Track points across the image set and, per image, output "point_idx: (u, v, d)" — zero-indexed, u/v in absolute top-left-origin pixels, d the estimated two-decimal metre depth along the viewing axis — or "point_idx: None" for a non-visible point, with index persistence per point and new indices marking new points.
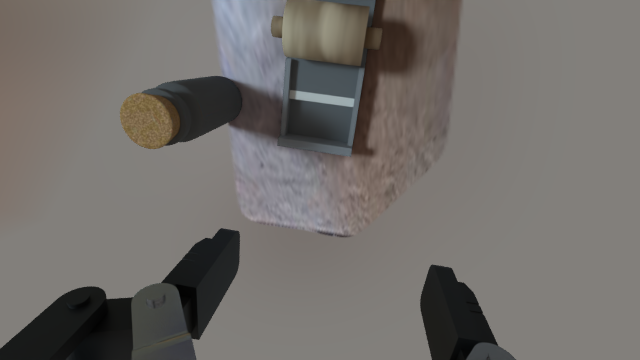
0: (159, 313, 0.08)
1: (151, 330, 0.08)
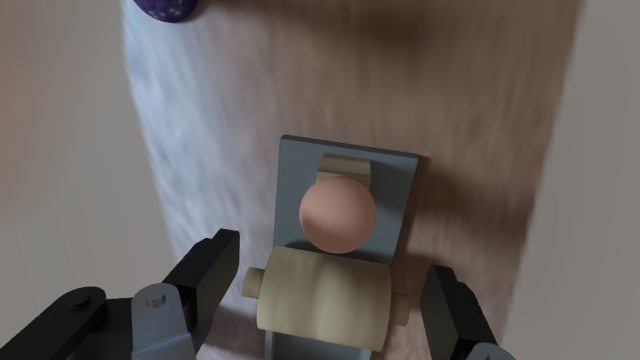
0: (158, 312, 0.08)
1: (151, 330, 0.08)
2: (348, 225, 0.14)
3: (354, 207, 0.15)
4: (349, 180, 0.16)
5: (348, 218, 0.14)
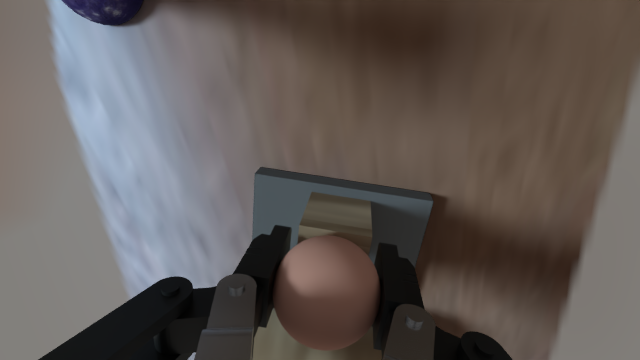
0: (234, 301, 0.09)
1: (242, 315, 0.09)
2: (341, 319, 0.10)
3: (349, 292, 0.10)
4: (341, 246, 0.11)
5: (340, 310, 0.10)
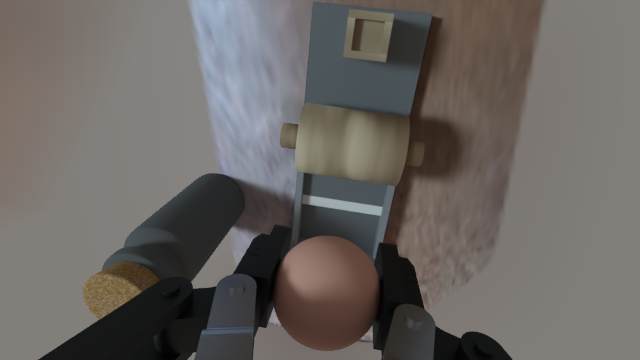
0: (234, 301, 0.09)
1: (242, 315, 0.09)
2: (340, 320, 0.10)
3: (349, 292, 0.10)
4: (341, 246, 0.11)
5: (340, 311, 0.10)
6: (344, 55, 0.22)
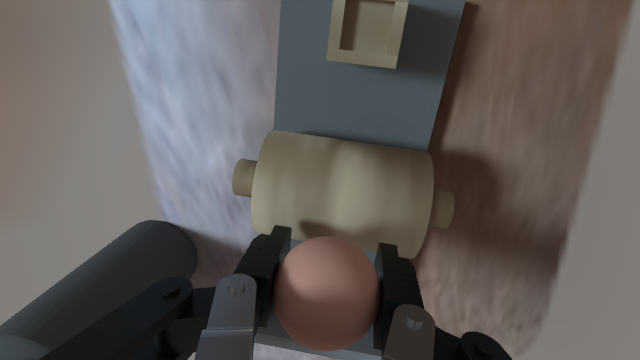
0: (234, 301, 0.09)
1: (242, 315, 0.09)
2: (340, 321, 0.10)
3: (349, 293, 0.10)
4: (341, 247, 0.11)
5: (340, 311, 0.10)
6: (328, 57, 0.14)
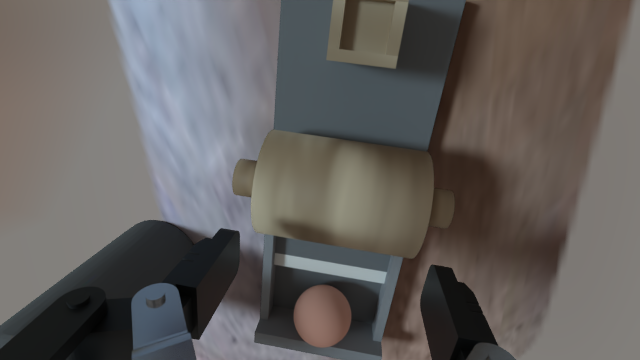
0: (158, 313, 0.08)
1: (151, 330, 0.08)
2: (333, 302, 0.21)
3: (336, 293, 0.21)
4: None
5: (333, 297, 0.21)
6: (328, 57, 0.14)
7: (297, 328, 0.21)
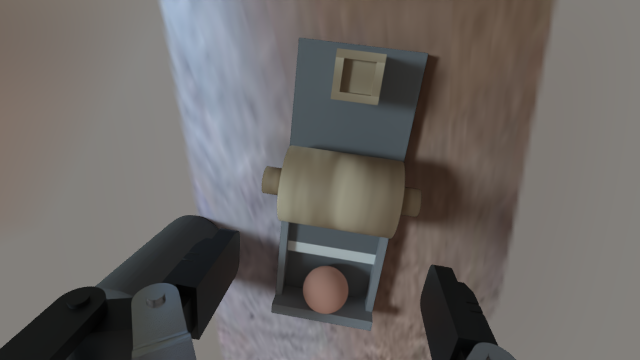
0: (158, 313, 0.08)
1: (151, 330, 0.08)
2: (334, 277, 0.27)
3: (336, 271, 0.27)
4: None
5: (334, 274, 0.27)
6: (332, 97, 0.20)
7: (306, 298, 0.27)
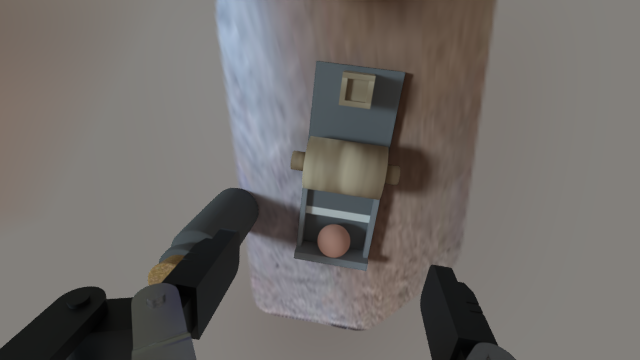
0: (158, 312, 0.08)
1: (151, 330, 0.08)
2: (340, 230, 0.37)
3: (341, 227, 0.38)
4: None
5: (340, 229, 0.37)
6: (339, 103, 0.30)
7: (320, 246, 0.37)
